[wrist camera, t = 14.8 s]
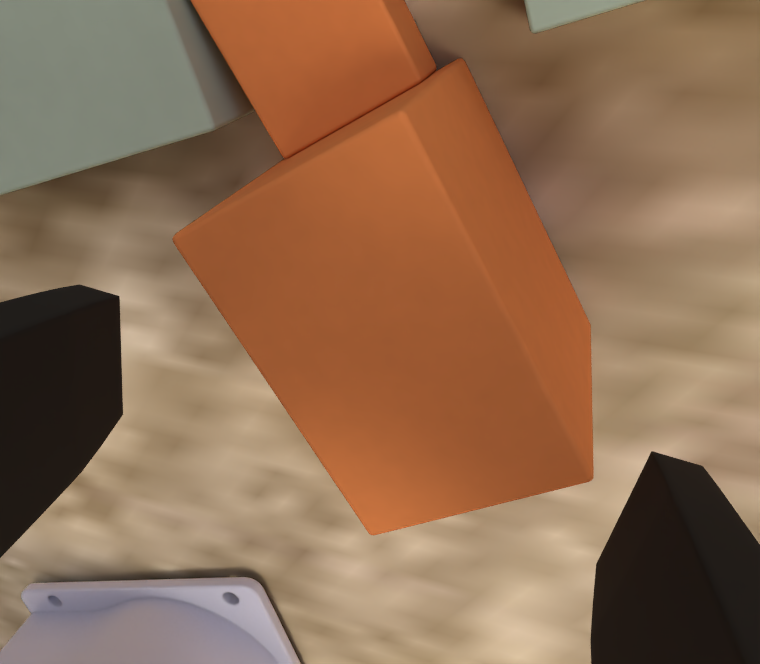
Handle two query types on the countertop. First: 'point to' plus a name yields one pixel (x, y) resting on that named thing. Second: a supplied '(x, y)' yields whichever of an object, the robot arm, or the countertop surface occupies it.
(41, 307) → the robot arm
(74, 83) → the grey tile
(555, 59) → the countertop surface
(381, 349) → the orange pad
